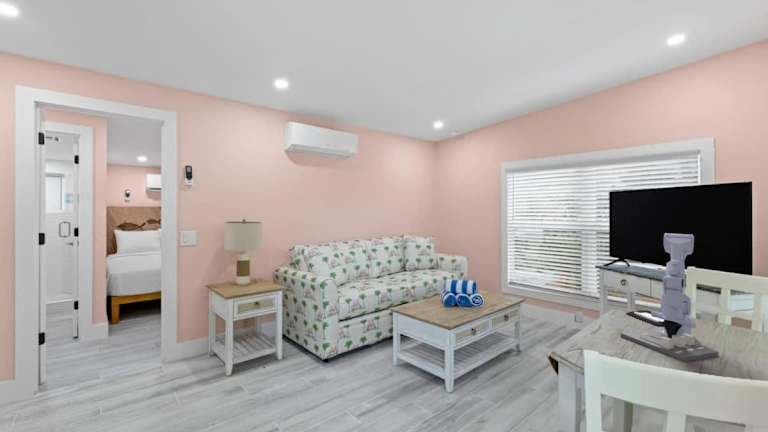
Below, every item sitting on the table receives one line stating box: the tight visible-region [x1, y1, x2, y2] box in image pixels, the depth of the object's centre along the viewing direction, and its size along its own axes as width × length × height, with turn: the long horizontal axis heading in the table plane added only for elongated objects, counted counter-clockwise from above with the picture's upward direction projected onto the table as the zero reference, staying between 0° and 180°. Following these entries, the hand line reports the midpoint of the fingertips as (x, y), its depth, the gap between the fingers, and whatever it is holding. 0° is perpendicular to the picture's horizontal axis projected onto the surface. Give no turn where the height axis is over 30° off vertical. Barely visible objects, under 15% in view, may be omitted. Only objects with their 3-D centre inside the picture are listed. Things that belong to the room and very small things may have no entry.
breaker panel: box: [620, 328, 719, 362], centre depth 136 cm, size 18×24×5 cm
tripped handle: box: [672, 335, 686, 348], centre depth 131 cm, size 3×3×4 cm
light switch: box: [625, 309, 664, 328], centre depth 167 cm, size 20×3×14 cm
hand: (671, 340), depth 134 cm, fingers closed
